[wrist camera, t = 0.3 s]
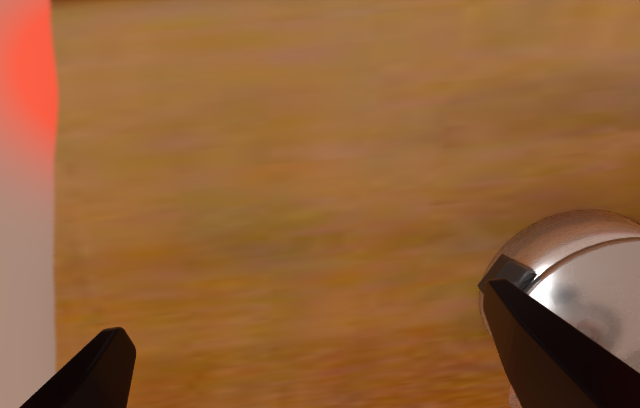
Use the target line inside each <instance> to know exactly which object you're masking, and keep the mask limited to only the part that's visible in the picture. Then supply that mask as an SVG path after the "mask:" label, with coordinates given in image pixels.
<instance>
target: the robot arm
mask: <svg viewBox="0 0 640 408" xmlns="http://www.w3.org/2000/svg"><path fill="white" fill-rule="evenodd" d="M483 310H484V314H485V316H486V319H487V322H488V325H489V328H490V331H491V333H492V336H493V339H494V342H495V345H496V348H497V350H498V353H499V356H500V359H501V362H502V364H503V367H504V370H505V372H506V375H507V377H508V379H509V381H510V383H511V386H512V388H513V390H514V392H515V394H516V396H517V398H518V400H519V402H520V404H521V406H522V408H640V373H639V372H638V371H636V370H635V369H633V368H632V367H630V366H629V365H628V364H626V363H625V362H623V361H622V360H620V359H619V358H618V357H616V356H615V355H613V354H612V353H611V352H609V351H608V350H606V349H605V348H603V347H602V346H601V345H599V344H598V343H596V342H595V341H594V340H592V339H591V338H589V337H588V336H586V335H585V334H584V333H582V332H581V331H579V330H578V329H576V328H575V327H574V326H572V325H571V324H569V323H568V322H567V321H565V320H564V319H562V318H561V317H559V316H558V315H557V314H555V313H554V312H552V311H551V310H550V309H548V308H547V307H545V306H544V305H542V304H541V303H540V302H538V301H537V300H535V299H534V298H533V297H531V296H530V295H528V294H527V293H525V292H524V291H523V290H521V289H520V288H518V287H517V286H515V285H514V284H513V283H511V282H510V281H508V280H507V279H504V278H498V279H490V280H488V281H487V282H486V284H485V291H484V298H483ZM135 359H136V349H135V346H134V344H133V343H132V341H131V339H130V338H129V336H128V335H127V333H126V331H125V330H124V329H123V328H121V327H114V328H107V329H104V330H102V331H101V332H100V333H99V334H98V335H97V336H96V337H95V338H93V339H92V340H91V341H90V342H89V343H88V344H87V345H86V346H85V347H84V348H83V349H82V350H81V351H80V352H78V353H77V354H76V355H75V356H74V357H73V358H72V359H71V360H70V361H69V362H68V363H67V364H66V365H65V366H63V367H62V368H61V369H60V370H59V371H58V372H57V373H56V374H55V375H54V376H53V377H52V378H51V379H50V380H49V381H47V382H46V383H45V384H44V385H43V386H42V387H41V388H40V389H39V390H38V391H37V392H36V393H35V394H34V395H32V396H31V397H30V398H29V399H28V400H27V401H26V402H25V403H24V404H23V405H22V406H21V407H20V408H126V407H127V401H128V396H129V391H130V385H131V380H132V375H133V369H134V364H135Z"/></svg>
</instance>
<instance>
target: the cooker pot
mask: <svg viewBox="0 0 640 408" xmlns="http://www.w3.org/2000/svg"><path fill="white" fill-rule="evenodd" d="M498 278H504V279H507V280H508V281H510V282H511V283H513V284H514V285H515V286H517V287H518V288H520V289H521V290H523V291H524V292H525V293H527V294H528V295H530V296H531V297H533V298H534V299H535V300H537V301H538V302H540V303H541V304H542V305H544V306H545V307H547V308H548V309H550V310H551V311H552V312H554V313H555V314H557V315H558V316H559V317H561V318H562V319H564V320H565V321H567V322H568V323H569V324H571V325H572V326H574V327H575V328H576V329H578V330H579V331H581V332H582V333H584V334H585V335H586V336H588V337H589V338H591V339H592V340H594V341H595V342H596V343H598V344H599V345H601V346H602V347H603V348H605V349H606V350H608V351H609V352H611V353H612V354H613V355H615V356H616V357H618V358H619V359H620V360H622V361H623V362H625V363H626V364H628V365H629V366H630V367H632V368H633V369H635V370H636V371H638V372H639V373H640V225H639V224H637V223H635V222H634V221H632V220H630V219H628V218H626V217H624V216H621V215H619V214H616V213H612V212H608V211H601V210H577V211H569V212H565V213H560V214H556V215H554V216H551V217H548V218H545V219H543V220H541V221H539V222H536V223H534V224H532V225H531V226H529V227H527V228H526V229H524V230H522V231H521V232H520V233H518V234H517V235H516V236H514V237H513V238H512V239H511V240H510V241H509V242H507V243H506V244H505V245H504V246H503V247H502V248H501V250H500V251H499V252H498V253H497V254H496V255H495V257H494V258H493V260H492V261H491V263H490V264H489V266H488V268H487V270H486V272H485V274H484V277H483V279H482V280H481V282H480V283H479V284H478V287H479V289H480V292H479V308H480V314H481V317H482V320H483V322H484V324H485V326H486V328H487V330H488V331H489V333H490V335H491V337H492V338H493V336H492V333H491V331H490V328H489V325H488V322H487V319H486V316H485V314H484V310H483V298H484V291H485V284H486V282H487V281H488V280H490V279H498ZM493 340H494V339H493Z"/></svg>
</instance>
